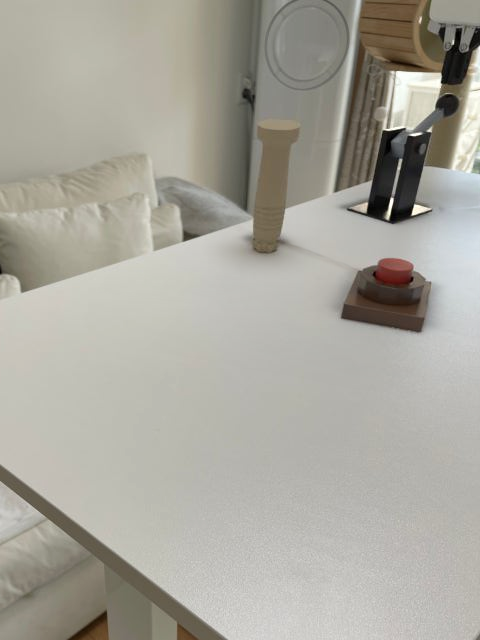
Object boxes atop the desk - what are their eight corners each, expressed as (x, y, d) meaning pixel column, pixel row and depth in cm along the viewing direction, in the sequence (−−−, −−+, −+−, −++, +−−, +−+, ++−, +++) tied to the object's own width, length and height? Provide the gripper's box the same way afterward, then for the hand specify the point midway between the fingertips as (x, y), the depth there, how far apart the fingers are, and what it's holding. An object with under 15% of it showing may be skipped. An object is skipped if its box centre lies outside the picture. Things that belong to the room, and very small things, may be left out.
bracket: (385, 204, 101) (402, 122, 95) (430, 217, 96) (452, 131, 90) (345, 216, 96) (361, 130, 89) (391, 230, 91) (411, 140, 84)
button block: (355, 284, 75) (361, 254, 73) (427, 296, 73) (435, 266, 71) (340, 318, 68) (346, 287, 66) (420, 333, 65) (429, 301, 63)
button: (377, 271, 70) (380, 255, 69) (411, 276, 69) (415, 260, 68) (372, 283, 68) (376, 267, 67) (408, 288, 67) (412, 272, 66)
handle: (285, 242, 86) (301, 120, 78) (281, 260, 81) (298, 131, 73) (249, 239, 87) (260, 118, 78) (243, 256, 82) (255, 128, 73)
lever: (443, 108, 95) (444, 86, 93) (463, 111, 93) (464, 89, 91) (388, 158, 92) (387, 138, 90) (408, 163, 90) (407, 142, 88)
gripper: (567, -81, 78) (515, 89, 89) (454, -78, 87) (419, 75, 98) (539, -85, 74) (487, 93, 85) (423, -82, 83) (390, 79, 94)
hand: (451, 83), depth 91 cm, fingers closed
